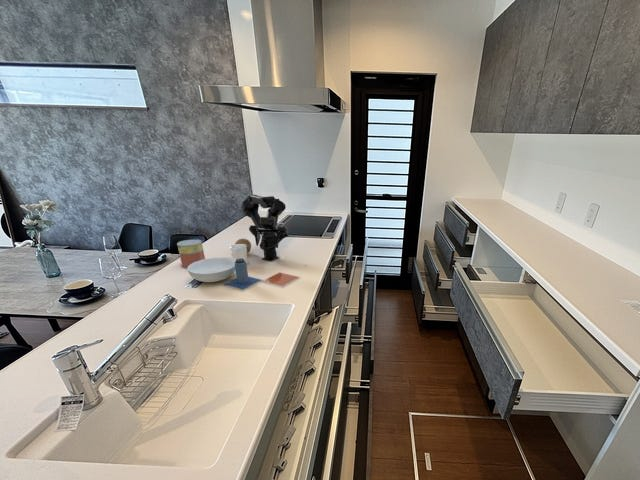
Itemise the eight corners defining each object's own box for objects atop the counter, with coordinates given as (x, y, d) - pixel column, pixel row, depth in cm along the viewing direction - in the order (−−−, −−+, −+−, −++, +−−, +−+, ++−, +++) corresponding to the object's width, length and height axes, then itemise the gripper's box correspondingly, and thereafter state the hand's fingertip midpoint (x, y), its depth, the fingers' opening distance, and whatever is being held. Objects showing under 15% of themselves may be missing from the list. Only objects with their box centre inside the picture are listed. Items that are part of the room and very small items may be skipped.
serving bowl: (182, 288, 134) (179, 274, 132) (199, 270, 153) (196, 257, 151) (232, 286, 138) (229, 272, 135) (242, 269, 157) (240, 256, 154)
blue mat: (223, 285, 138) (223, 284, 138) (243, 276, 149) (243, 275, 148) (243, 290, 134) (242, 289, 134) (262, 280, 144) (262, 279, 144)
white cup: (251, 262, 166) (249, 244, 162) (241, 267, 159) (239, 249, 155) (240, 260, 168) (237, 243, 164) (229, 265, 162) (226, 247, 158)
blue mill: (236, 281, 142) (232, 259, 137) (247, 279, 144) (243, 257, 140) (239, 285, 138) (235, 262, 134) (250, 282, 141) (247, 260, 136)
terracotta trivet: (262, 282, 143) (262, 281, 143) (279, 273, 153) (279, 272, 153) (282, 287, 138) (282, 286, 138) (298, 277, 148) (298, 277, 148)
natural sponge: (242, 259, 171) (239, 241, 167) (232, 255, 175) (229, 239, 171) (255, 254, 178) (253, 238, 174) (245, 251, 182) (243, 235, 178)
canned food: (184, 261, 165) (179, 240, 160) (207, 259, 168) (203, 238, 163) (179, 268, 155) (174, 246, 150) (204, 266, 158) (199, 244, 154)
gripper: (247, 209, 148) (240, 237, 143) (285, 210, 147) (279, 238, 142) (256, 221, 159) (250, 248, 153) (291, 223, 158) (286, 249, 152)
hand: (266, 246), depth 150 cm, fingers open, 9 cm apart
